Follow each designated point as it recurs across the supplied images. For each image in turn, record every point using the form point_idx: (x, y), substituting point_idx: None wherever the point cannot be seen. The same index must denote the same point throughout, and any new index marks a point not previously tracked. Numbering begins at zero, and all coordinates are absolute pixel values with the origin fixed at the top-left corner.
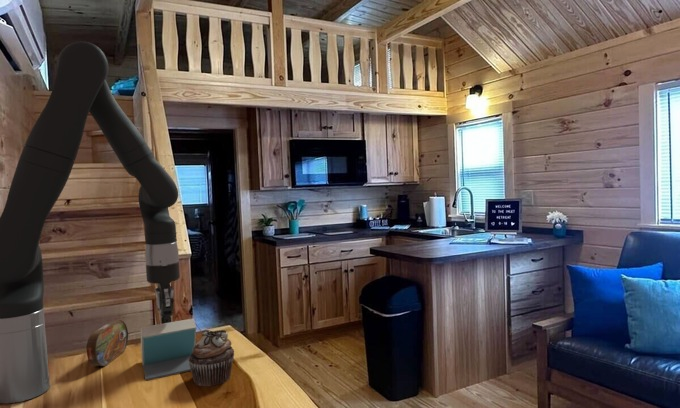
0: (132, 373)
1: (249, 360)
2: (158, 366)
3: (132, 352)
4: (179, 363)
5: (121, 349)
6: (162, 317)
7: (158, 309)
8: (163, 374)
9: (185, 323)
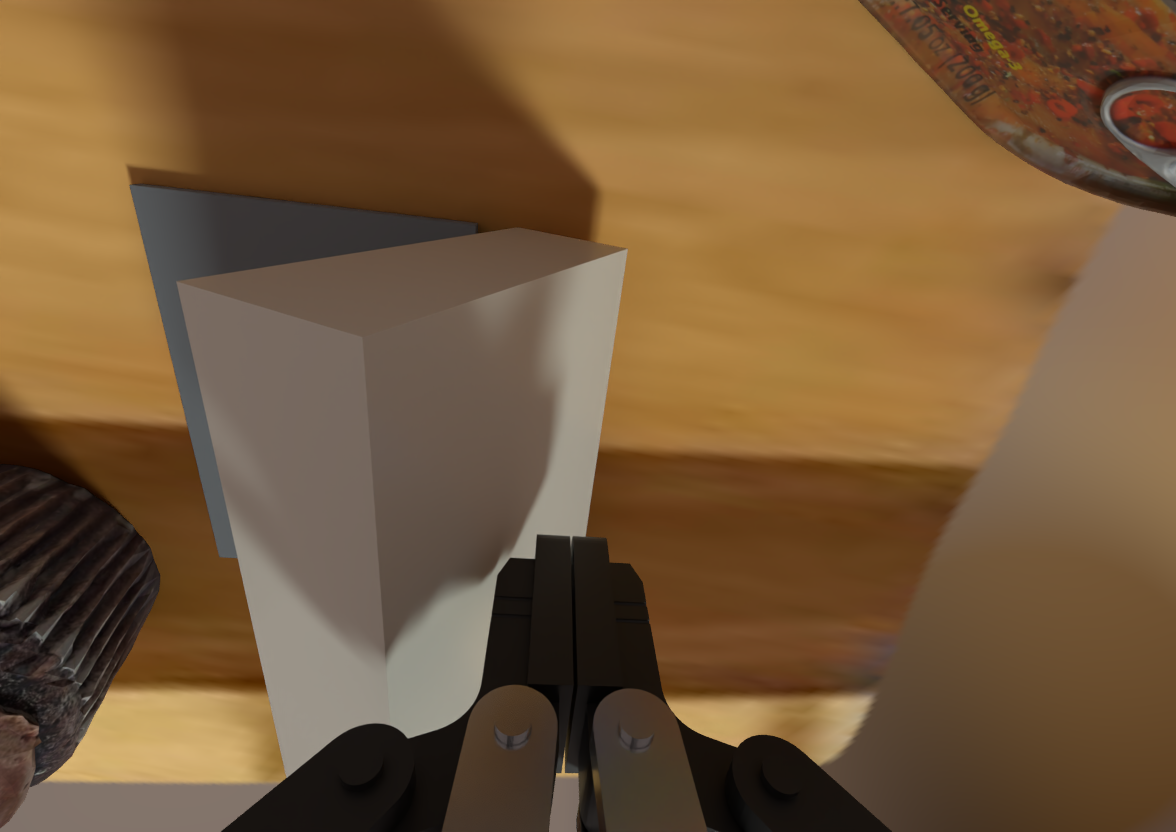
0: (372, 109)
1: (234, 732)
2: None
3: (901, 207)
4: None
5: (1016, 113)
6: (484, 706)
7: (761, 777)
8: (174, 327)
9: None
